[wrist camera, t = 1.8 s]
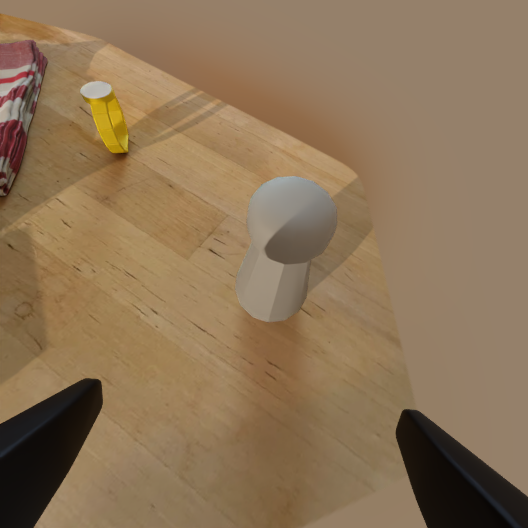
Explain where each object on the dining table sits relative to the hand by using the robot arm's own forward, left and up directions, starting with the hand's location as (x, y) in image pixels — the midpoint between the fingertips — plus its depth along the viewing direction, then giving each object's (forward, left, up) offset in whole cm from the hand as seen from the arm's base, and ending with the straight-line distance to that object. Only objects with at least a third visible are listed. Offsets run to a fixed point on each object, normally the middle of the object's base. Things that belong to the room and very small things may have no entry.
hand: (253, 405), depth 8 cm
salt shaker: (+6, -5, -14) cm, 16 cm away
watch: (+29, +2, -14) cm, 32 cm away
